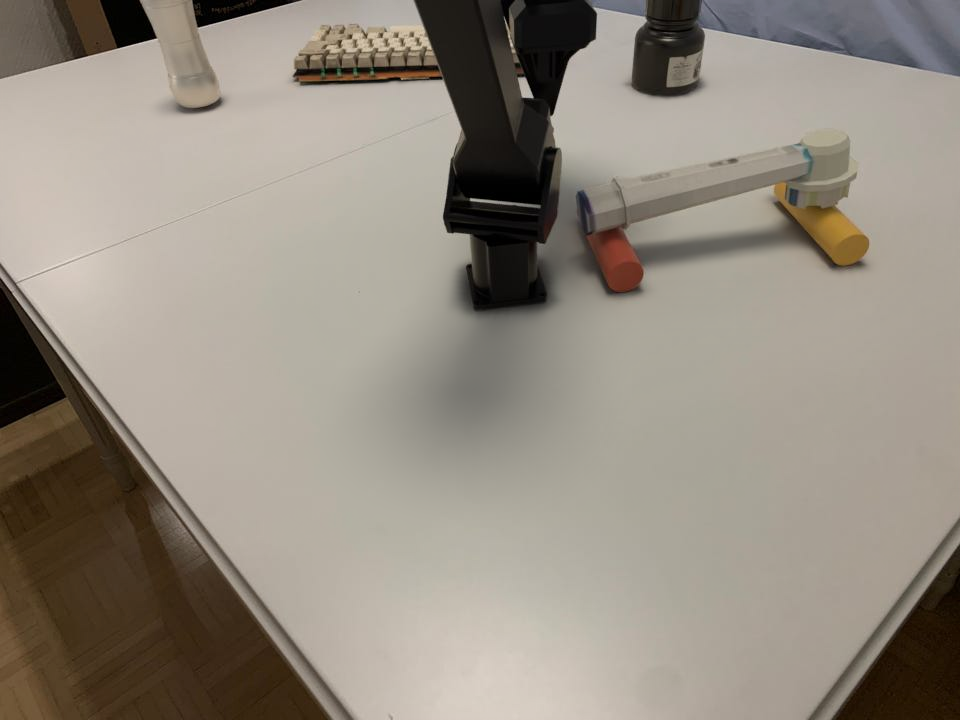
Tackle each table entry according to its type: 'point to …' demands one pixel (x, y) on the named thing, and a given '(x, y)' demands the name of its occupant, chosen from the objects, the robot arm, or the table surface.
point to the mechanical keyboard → (370, 54)
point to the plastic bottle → (183, 52)
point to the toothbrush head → (726, 182)
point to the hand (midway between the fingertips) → (539, 95)
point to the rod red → (616, 259)
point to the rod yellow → (829, 230)
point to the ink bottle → (668, 47)
